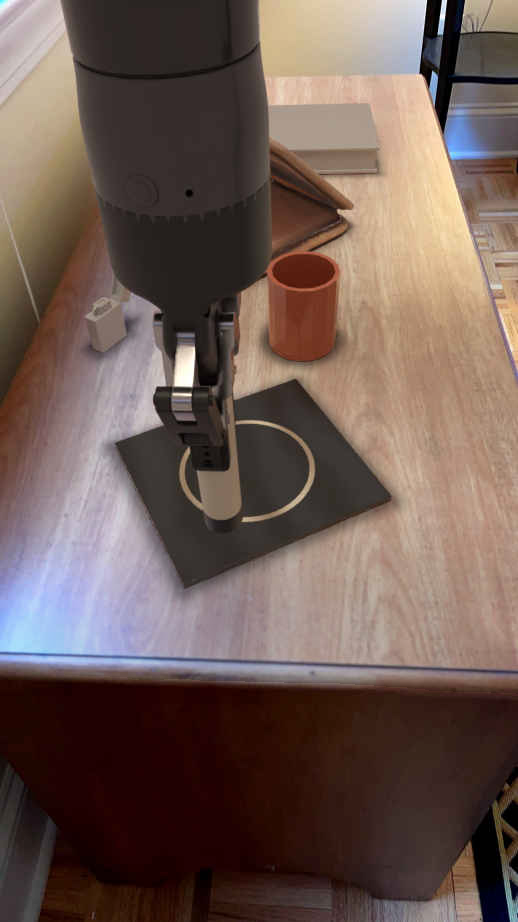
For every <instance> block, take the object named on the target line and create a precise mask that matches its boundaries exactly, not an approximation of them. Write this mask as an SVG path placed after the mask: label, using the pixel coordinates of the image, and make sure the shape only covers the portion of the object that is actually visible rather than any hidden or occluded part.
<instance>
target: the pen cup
mask: <svg viewBox="0 0 518 922" xmlns="http://www.w3.org/2000/svg"><path fill="white" fill-rule="evenodd" d="M266 275H267V313H268V316H267V317H268V318H267V319H268V341H269V346H270V348H271V349H272V351H273V352H274V353H275V354H276V355H278V356H279V357H281V358H283V359H286V360H288V361H292V362H293V361H294V362H311V361H316V360H319V359H322V358H323V357H325V356H327V355H328V354H329V353H331V351H332V350H333V349H334V347H335V345H336V339H337V329H338V328H337V326H338V314H339V313H338V312H339V311H338V310H339V297H340V280H341V270H340V266H339V263H337V262H336V261H335V260H334V259H333V258H332V257H330V256H328V255H326V254H323V253H322V252H314V251H310V250H308V251H300V252H291V253H288V254H284V255H281V256H279V257H278V258H276V259H275V260H273V261H272V262H271V264H270V265H269V267H268V269H267V273H266Z"/></svg>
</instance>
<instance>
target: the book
mask: <svg viewBox="0 0 518 922" xmlns="http://www.w3.org/2000/svg"><path fill="white" fill-rule="evenodd" d="M268 111H269V137H270V138H272V139H274V140H275V141H277V142H279V143H280V144H282V145H283V146H285V147H286V148H287V149H289V150H290V151H291V152H292V153H294V154H295V155H296V156H297V157H298V158H299V159H301V160H302V161H303V162H304V163H305V164H307V165H308V166H309V167H310V168H311V169H313V170H314V171H315V172H316V173H318V174H319V175H336V174H337V175H341V174H342V175H343V174H345V175H346V174H377V173H378V166H377V162H376V159H377V158H376V157H377V151H380V144H379V139H378V135H377V131H376V126H375V120H374V117H373V113H372V108H371V103H369V102H358V103H357V102H356V103H355V102H354V103H317V104H311V103H309V104H271V105H270V104H268Z"/></svg>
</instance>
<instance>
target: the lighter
mask: <svg viewBox="0 0 518 922" xmlns="http://www.w3.org/2000/svg"><path fill="white" fill-rule="evenodd" d="M111 277H112V279H111V285H110V293H109V298H108V297H106V296H102V297H101V298H99V299H98V300H96V301H95V302H93V303H92V310H91V311H90V312H88V313H87V314H86V315H84V319H85V323H86V327H87V331H88V335H89V338H90V343H91V346H92V349H93V350H95V351H97V352H99V353H101V354H104V353H106V352H107V351H108V350H110V349H111V348H112V347H114V346H115V345H116V344H118V343H119V342H120V341H121V340H123V339H124V338H125V337H126V336H127V335H128V332H127V328H126V324H125V318H124V313H123V309H122V305H121V303H127V302H131V301H130V300H131V294H132V292H130V291H129V290H127V289H126V288H125V287H124V286H123V285H122V284H121V283H120V282H119V281H118V279H117V278H116V276H115V274H114V272H113V271H112V276H111Z"/></svg>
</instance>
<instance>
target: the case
mask: <svg viewBox="0 0 518 922" xmlns="http://www.w3.org/2000/svg"><path fill="white" fill-rule="evenodd" d="M269 146H270V180H271V222H272V257H271V261H270V264H271V262H272V261H273V260H275V259H276V258H278V257H279V256H281V255H284V254H288V253H291V252H300V251H310V250H313V249H314V248H316V247H319V246H320V245H322V244H324V243H326V242H328V241H331V240H332V239H334V238H335V237H338V236H339V235H342V234H343V233H344V232H345V231H346V230H347V229H348V228H349V221H348V219H347V218H346V217H345V216H344V215H342V214H340V213H339V212H338V210H340V211H346V210H348V211H353V210H354V208H355V205H354V202H352V201H351V200H350V199H349V198H348V197H346V196H345V195H344V194H343V193H342V192H341V191H339V189H337V188H336V187H334V185H332V184H331V183H330V182H329V181H327V180H326V179H325V178H324V177H322V175H321V174H318V173H316V172H315V171H314V170H313V169H311V168H310V167H309V166H308V165H307V164H305V163H304V162H303V161H302V160H301V159H299V158H298V157H297V156H296V155H295V154H294V153H292V152H291V151H290V150H289V149H287V148H286V147H285V146H283V145H282V144H280V143H279V142H277V141H275V140H274V139H272V138H270V137H269ZM270 264H269V265H270ZM268 267H269V266H268ZM267 269H268V268H267ZM266 274H267V270H266V271H265V273H264V274H263V275H262V276H264V275H266Z"/></svg>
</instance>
